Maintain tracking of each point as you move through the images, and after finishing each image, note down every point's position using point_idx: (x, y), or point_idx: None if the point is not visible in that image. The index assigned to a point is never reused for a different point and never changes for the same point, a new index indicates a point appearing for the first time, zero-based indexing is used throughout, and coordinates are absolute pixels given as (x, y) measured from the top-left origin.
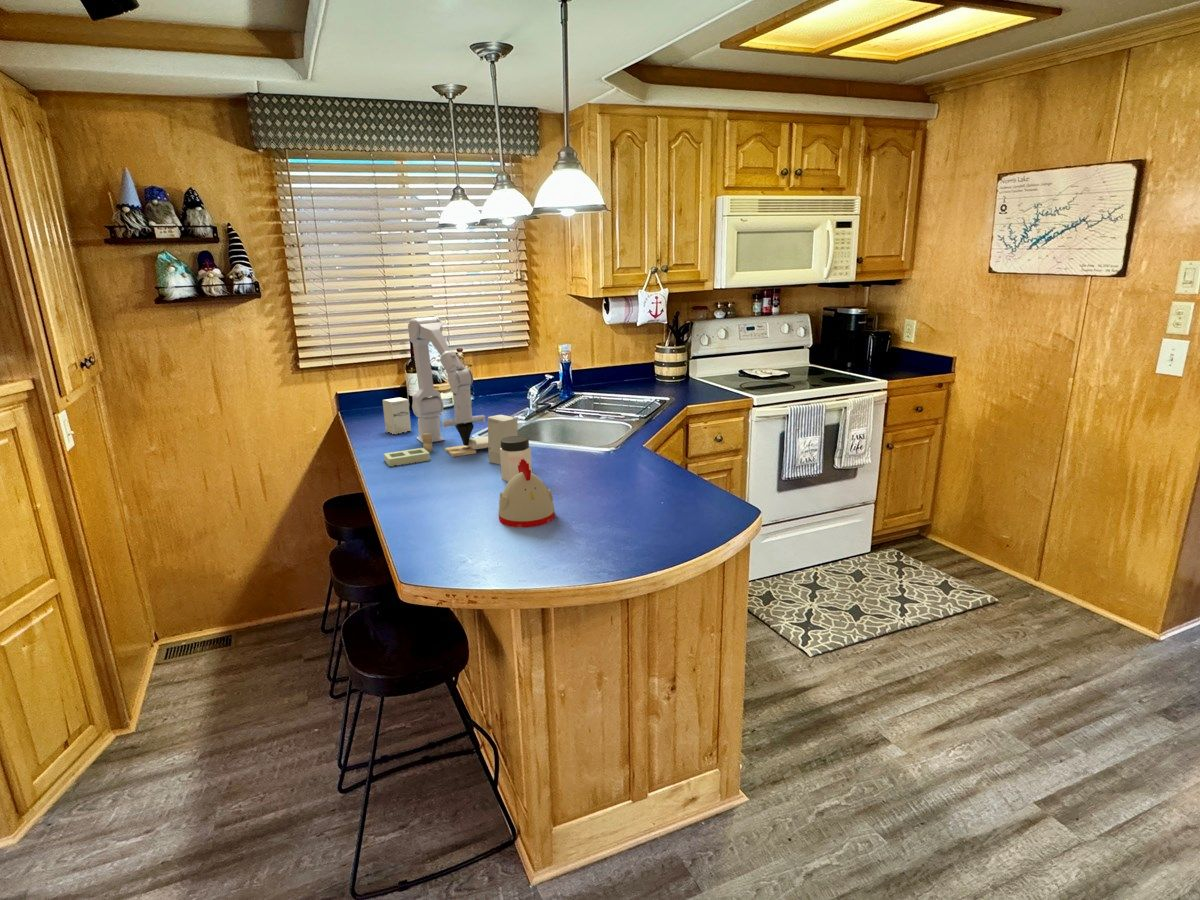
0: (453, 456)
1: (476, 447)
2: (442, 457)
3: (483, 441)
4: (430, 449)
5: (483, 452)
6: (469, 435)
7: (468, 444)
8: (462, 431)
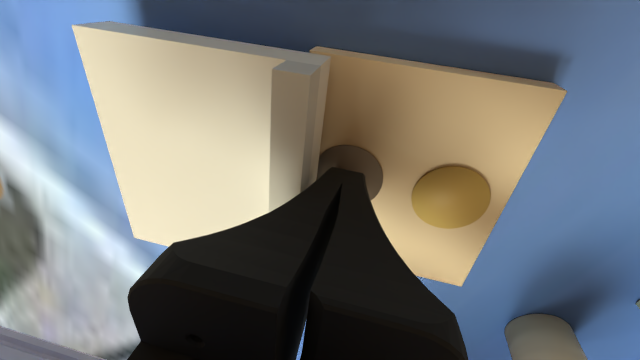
0: (550, 83)
1: (295, 54)
2: (628, 143)
3: (185, 128)
4: (549, 329)
5: (254, 26)
6: (292, 204)
7: (328, 169)
8: (392, 270)
